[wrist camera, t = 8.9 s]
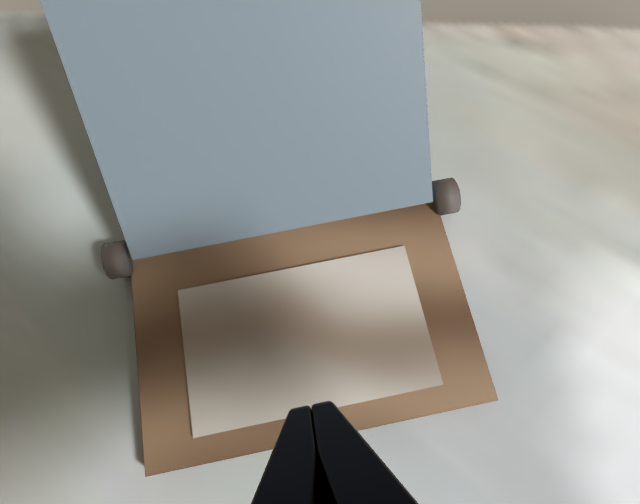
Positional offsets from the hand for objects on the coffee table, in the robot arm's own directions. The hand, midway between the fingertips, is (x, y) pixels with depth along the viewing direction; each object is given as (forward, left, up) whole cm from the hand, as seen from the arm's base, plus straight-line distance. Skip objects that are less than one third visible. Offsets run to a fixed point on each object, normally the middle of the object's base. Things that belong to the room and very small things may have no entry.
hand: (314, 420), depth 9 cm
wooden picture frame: (+2, +3, -11) cm, 11 cm away
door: (+5, +6, -10) cm, 13 cm away
